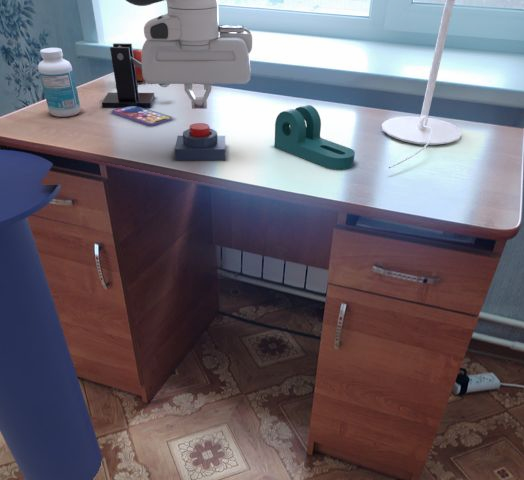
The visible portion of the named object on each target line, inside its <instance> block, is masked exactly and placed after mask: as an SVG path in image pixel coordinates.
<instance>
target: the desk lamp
mask: <svg viewBox="0 0 524 480" xmlns="http://www.w3.org/2000/svg"><path fill="white" fill-rule="evenodd" d="M455 1H456V0H445V3H444V7H443V10H442V14H441V19H440V24H439V27H438V28H439V29H438V32H437V33H438V34H437V38H436V42H435V47H434V52H433V57H432V61H431V66H430V71H429V75H428V80H427V85H426V89H425V94H424V97H423V103H422V107H421V113H420V116H416V115H415V116H413V115H407V116H396V117H391V118H388V119H386V120H385V121H383V123H381V130H382V131H383V132H384V133H385V134H387V135H388V137H392V138H394V139H396V140H398V141H401V142H403V143H408V144H414V145H421V146H423V147H421V148H420V149H419V150H417V151H416V152H414V153H413V154H412V155H410V156H408V157H406V158H404V159H402V160H401V161H398V162H397V163H394V164H392V165H390V166H388V169H391V168H394V167H395V166H398V165H400V164H402V163H404V162H406V161H408V160H410V159H411V158H413V157H415V156H416V155H417V154H420V153H421V152H422V151H423V150H424V149H425V148H427V147H428V146H438V145H445V144H451V143H453V142H456V141H459V140H460V139H461V137H462V136H463V132H462V130H461V128H460V127H458V126H456V125H455V124H453V123H452V122H448V121H445V120H442V119H438V118H432V117H429V114H430V110H431V105H432V100H433V98H434V97H433V96H434V93H435V92H434V91H435V87H436V84H437V83H436V82H437V79H438V74H439V70H440V65H441V62H442V61H441V60H442V57H443V52H444V48H445V44H446V38H447V34H448V30H449V26H450V22H451V18H452V12H453V8H454V5H455Z"/></svg>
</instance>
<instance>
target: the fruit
mask: <svg viewBox="0 0 524 480" xmlns="http://www.w3.org/2000/svg"><path fill="white" fill-rule="evenodd" d="M132 50H133V57H134V59H136V60H138V61H139V62H141V63H142V49H132ZM135 72H136V80H137V82H146V81H145V80H144V79H143V75H142V69H141V68H139V67H137V66H136V65H135Z"/></svg>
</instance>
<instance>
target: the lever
mask: <svg viewBox="0 0 524 480" xmlns="http://www.w3.org/2000/svg"><path fill="white" fill-rule="evenodd" d="M118 47H122V46H120V45H119V46H118ZM131 63H132V64H134V65H136V66H137V67H139V68H141V69H142V63H141V62H139V61H138V60H136V59H134V58H133V57H131ZM158 85H159V86H160V87H162V88H168V87H169V86H170V85H171V84H158Z"/></svg>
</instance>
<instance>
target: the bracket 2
mask: <svg viewBox="0 0 524 480" xmlns="http://www.w3.org/2000/svg"><path fill="white" fill-rule="evenodd" d="M321 128H322V119H321V116H320V114H319V112H318V110H317V109H316V108H315V107H314V106H313V105H310V104H305V105H301V106H298V107H295V108H290V109H286V110H284V111H283V110H282V111H281V112H279V113H278V114H277V116H276V119H275V123H274V144H273V145H274V146H273V147H274V148H276V149H279V150H282V151H283V152H287V153H288V154H291V155H294V156H296V157H299V158H302V159H304V160H305V161H309V162H311V163H314V164H316V165H319V166H321V167H324V168H326V169H331V170H338V171H339V170H341V171H342V170H348V169H350V168H352V167H353V166H354V161H355V155H356V152H355V150H353V149H352V148H350V147H348V146H345V145H342V144H339V143H337V142H334V141H331V140H328V139H325V138H323V137H321Z"/></svg>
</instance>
